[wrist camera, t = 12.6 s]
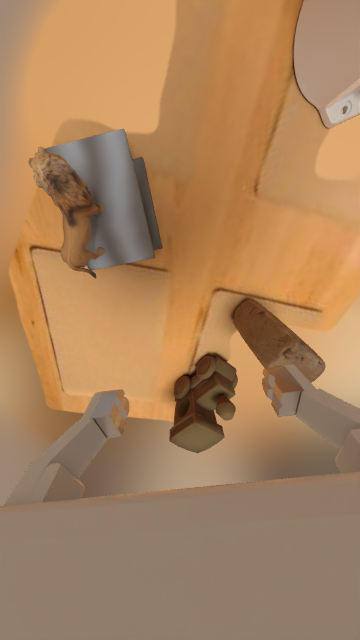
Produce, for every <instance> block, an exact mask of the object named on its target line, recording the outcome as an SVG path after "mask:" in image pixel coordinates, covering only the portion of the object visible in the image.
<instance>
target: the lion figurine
mask: <svg viewBox="0 0 360 640" xmlns="http://www.w3.org/2000/svg"><path fill="white" fill-rule="evenodd" d="M29 165H30V167H31V168H33V172H34V173H35V175H34V179H35V181H36V184H37V186H38V187H40V188H43V189H44V190H45V192H46V193H47V194H48V195H50V196H51V197H52V200H53V201H54V204H55V205H56V206H58V207H59V208H60V210H61V212H62V214H63V230H64V243H63V246H62V248H61V256H62V259H63V261H64V262H66V263H67V264H68V266H69V267H70V268H71V269H73V270H75V271H83V272H88V273H90V274H91V275H92V276H93V277H94V278H96V274H95V273H94V272H92V271H91V270H88V269H85V268H81V267H85V266H86V265H87V262H88V261H89V260H91V259H93V260H95V259H97V258H98V257H99V256H101V255H103V254H104V252H105V250H104V248H102V247H98V248H97V252H96V253H95V254H94V253H93V252H92V251H88V250H87V249H86V245H87V242H88V240H89V237H90V232H91V225H90V217H91V216H92V215H95V214H97V215H99V214H102V213H103V212H104V207H103V205H102V204H98V203H97V204H96V205H94V204H93V203H92V200H91V199H92V195H91V193H90V192H89V191H88V187H87V185H86V183H85V182H84V181H83V180H82V179H81V177H80V176H79V175H78V174H77V172H76V171H75V170H74V169H73V168H71V166H70V165H69V164H68V163H67V162H66V160H65V159H63V158H62V157H61V156H60V155H59V154H54V153H53V152H48V151H47V150H46V149H44V148H42V147H38V153H35V157H34V158H30V159H29Z"/></svg>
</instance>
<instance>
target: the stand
mask: <svg viewBox="0 0 360 640" xmlns="http://www.w3.org/2000/svg"><path fill="white" fill-rule="evenodd" d="M46 150H47V151H48V152H53V153H54V154H59V155H60V156H61V157H62V158H63V159H65V160H66V162H67V163H68V164H69V165H70V166H71V168H73V169H74V170H75V171H76V172H77V174H78V175H79V176H80V177H81V179H82V180H83V181H84V182H85V183H86V185H87V187H88V191H89V192H90V193H91V195H92V199H91V200H92V203H93V204H94V205H96V204H97V203H98V204H102V205H103V207H104V212H103V213H102V214H99V215H97V214H95V215H92V216H91V217H90V225H91V232H90V237H89V240H88V242H87V245H86V249H87V250H88V251H92V252H93V253H94V254H95V253H96V252H97V248H98V247H102V248H104V250H105V252H104V254H103V255H101V256H99V257H98V258H97V259H95V260H93V259H91V260H89V261H88V262H87V266H88V269H89V270H96V269H101V268H106V267H112V266H117V265H122V264H127V263H132V262H137V261H142V260H147V259H152V258H155V255H154V251H153V250H156V249H161V248H162V244H161V240H160V235H159V230H158V226H157V221H156V216H155V211H154V207H153V202H152V197H151V193H150V188H149V183H148V178H147V174H146V169H145V164H144V160H143V158H142V157H140V158H136V159H132V157H131V153H130V149H129V145H128V141H127V136H126V133H125V131H124V129H120V130H116V131H112V132H108V133H104V134H100V135H96V136H93V137H89V138H85V139H81V140H77V141H73V142H69V143H65V144H61V145H57V146H53V147H49V148H46Z"/></svg>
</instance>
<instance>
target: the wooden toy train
mask: <svg viewBox="0 0 360 640" xmlns="http://www.w3.org/2000/svg"><path fill="white" fill-rule="evenodd" d="M196 372H197V374H196V375H195V376H193V377H192V378H191V379H190V378H189V377H188V376H182V377H181V378H180V379H179V380H178V381H177V383H176V385H175V388H174V395H175V401H176V407H175V416H174V426H173V427H172V428H171V429H170V442H172V443H174V444H175V445H177V446H179V447H181V448H184V449H186V450H189V451H192V452H196V453H199V452H202V451H204V450H207V449H208V448H210V447H212V446H213V445H215V444H217V443H218V442H219V441H221V440H222V439H223V438H224V433H223V429H222V426H221V425H219V424H217V422H216V417H215V414H214V410H215V409H216V413H217V414H218V415H219V416H220V417H221V418H223V419H224V420H230V419H232V418H233V416H234V413H235V406H234V404H233V403H232V402H231V401H230V400H229V399H230V398H232V397H233V396H234V395H235V391H234V388H235V387H236V385H237V381H238V378H237V375H236V369H235V368H234V367H233V366H231V365H230V364H229V363H227V362H226V361H224V360H223V359H221V358H220V357H218V356H217V357H216V358H215V359H214V357H212V356H205V357H203V358H202V359H201V360H200V362H199V363H198V365H197V369H196Z"/></svg>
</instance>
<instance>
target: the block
mask: <svg viewBox="0 0 360 640" xmlns="http://www.w3.org/2000/svg"><path fill="white" fill-rule="evenodd" d="M233 323H234V325H235V327H236V328H237V330H238V331H239V333H240V334H241V336H242V338H243V339H244V340H245V342H246V343H247V344H248V346H249V348H250V349H251V350H252V351H253V353H254V354H255V356H256V357H257V359H258V360H259V361H260V362H261V364H262V365H263V366H264V367H265V368H272V367H278V366H285V365H292V364H293V365H295V366H296V367H297V368H298V369H299V371H300V372H301V373H302V374H303V375H304V376H305V377H306V378H307V379H308V380H309V381H310V382H313V381H315V380H316V379H317V378H318V377H319V376H320V375H321V374H322V373H323V371H324V370H325V363H324V361H323V360H322V359H321V358H320V357H319V356H318V355H317V354H316V353H315V351H314V350H312V349H311V348H310V347H309V346H308V345H307V344H306V343H305V342H304V341H303V340H301V339H300V338H299V337H298V336H297V335H296V334H295V333H294V332H293V331H292V330H290V329H289V328H288V327H287V326H286V325H285V324H284V323H282V322H281V321H280V320H279V319H278V318H277V317H276V316H274V315H273V314H272V313H271V312H270V311H268V310H267V309H266V308H265V307H263V306H262V305H260V304H259V303H258V302H256V301H255V300H252V299H248V300H246V301H245V302H243V303H242V304H241V305H240V306H239V307H238V308H237V309H236V311H235V313H234V317H233Z"/></svg>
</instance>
